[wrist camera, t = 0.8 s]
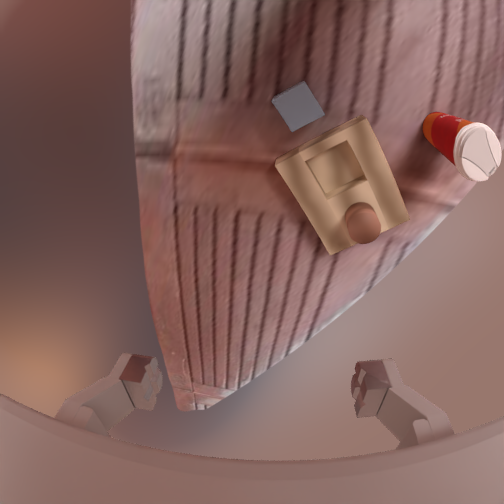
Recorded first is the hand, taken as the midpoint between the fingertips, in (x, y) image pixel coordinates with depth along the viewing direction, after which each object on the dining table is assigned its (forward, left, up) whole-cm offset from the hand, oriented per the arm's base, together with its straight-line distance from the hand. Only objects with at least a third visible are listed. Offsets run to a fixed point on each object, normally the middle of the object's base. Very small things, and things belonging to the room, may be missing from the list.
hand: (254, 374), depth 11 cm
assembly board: (-4, +11, -38) cm, 40 cm away
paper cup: (-23, +9, -39) cm, 46 cm away
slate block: (-4, -4, -39) cm, 39 cm away
